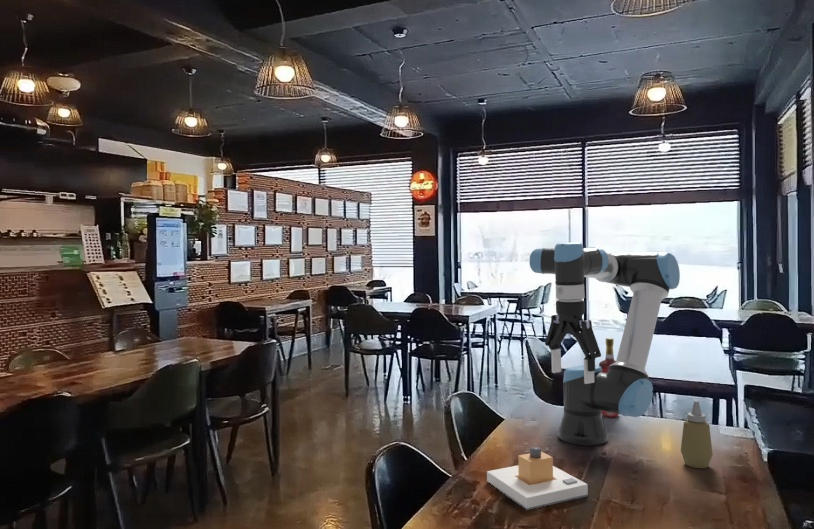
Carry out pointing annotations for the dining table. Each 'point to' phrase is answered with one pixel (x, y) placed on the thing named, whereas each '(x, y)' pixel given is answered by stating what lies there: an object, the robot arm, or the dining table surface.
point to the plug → (535, 467)
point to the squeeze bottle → (696, 439)
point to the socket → (537, 488)
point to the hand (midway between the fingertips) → (572, 377)
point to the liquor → (605, 367)
